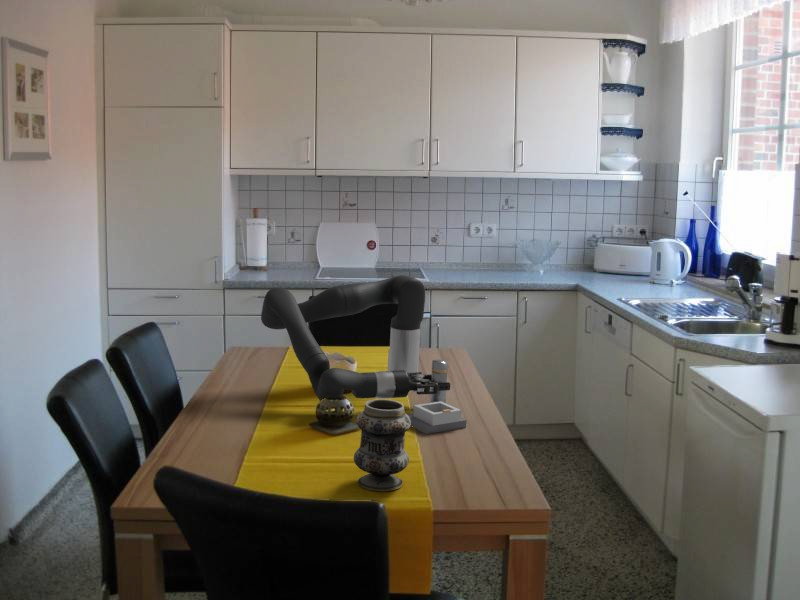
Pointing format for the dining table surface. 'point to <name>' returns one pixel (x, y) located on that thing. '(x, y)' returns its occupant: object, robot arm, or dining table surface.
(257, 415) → the dining table surface
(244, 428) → the dining table surface
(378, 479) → the apothecary jar
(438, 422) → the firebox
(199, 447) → the dining table surface
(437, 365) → the metal canister
